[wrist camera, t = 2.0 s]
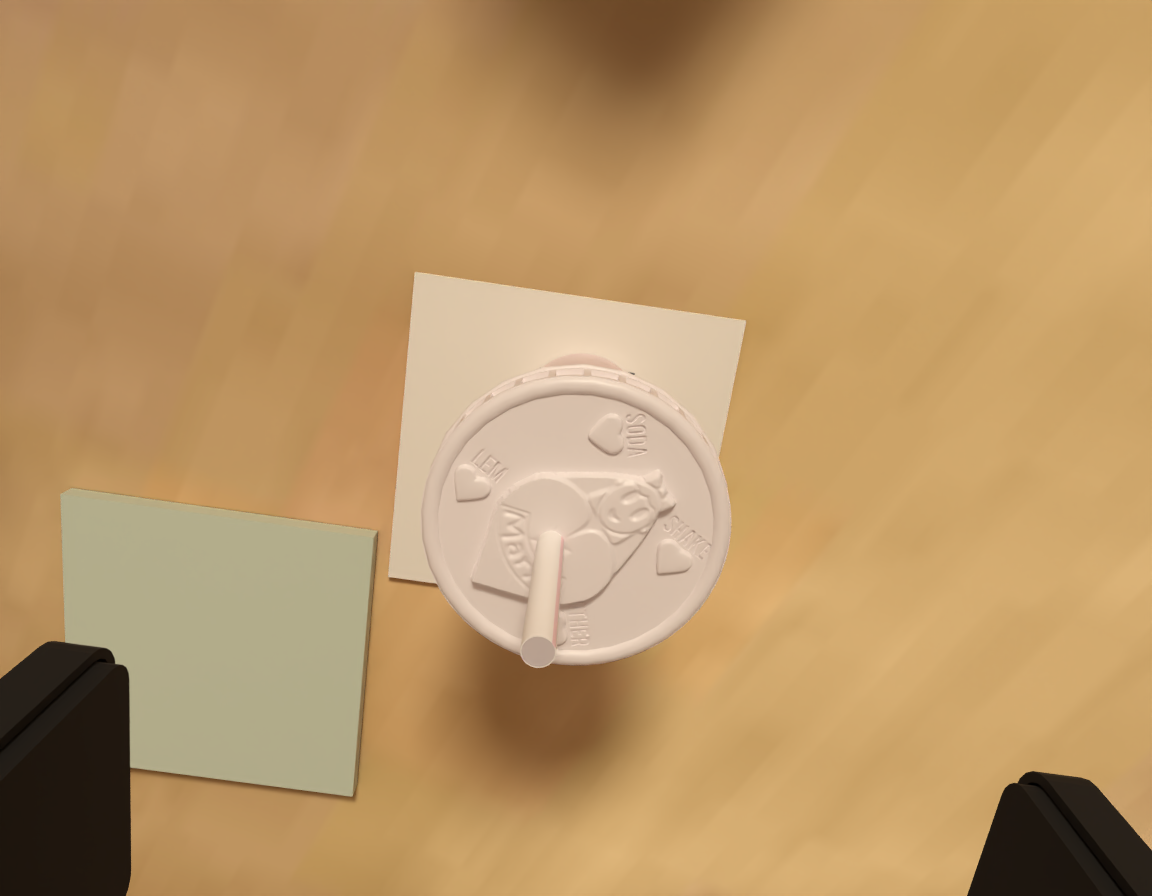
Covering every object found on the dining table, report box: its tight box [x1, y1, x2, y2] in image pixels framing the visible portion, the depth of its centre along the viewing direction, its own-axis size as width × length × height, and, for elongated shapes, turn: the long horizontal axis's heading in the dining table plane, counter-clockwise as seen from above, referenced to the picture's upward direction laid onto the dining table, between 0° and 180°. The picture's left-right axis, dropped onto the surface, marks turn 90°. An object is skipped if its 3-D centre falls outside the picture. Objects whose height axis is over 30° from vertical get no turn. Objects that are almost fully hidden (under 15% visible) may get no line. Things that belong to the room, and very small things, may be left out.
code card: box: [388, 272, 746, 584], centre depth 27 cm, size 10×10×1 cm
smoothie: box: [421, 353, 731, 668], centre depth 20 cm, size 6×6×14 cm
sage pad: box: [61, 488, 378, 797], centre depth 29 cm, size 10×10×1 cm
